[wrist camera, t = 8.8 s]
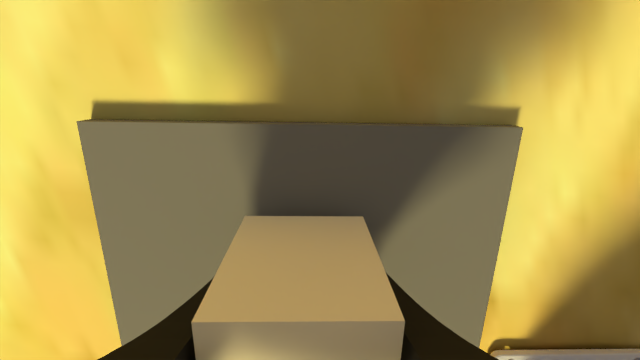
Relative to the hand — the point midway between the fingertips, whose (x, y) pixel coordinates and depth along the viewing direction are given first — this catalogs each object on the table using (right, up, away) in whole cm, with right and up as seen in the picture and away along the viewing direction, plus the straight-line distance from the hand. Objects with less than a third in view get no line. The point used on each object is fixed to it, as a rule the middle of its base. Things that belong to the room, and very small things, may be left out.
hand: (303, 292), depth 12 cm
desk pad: (0, +1, +3) cm, 3 cm away
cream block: (0, 0, +2) cm, 2 cm away
